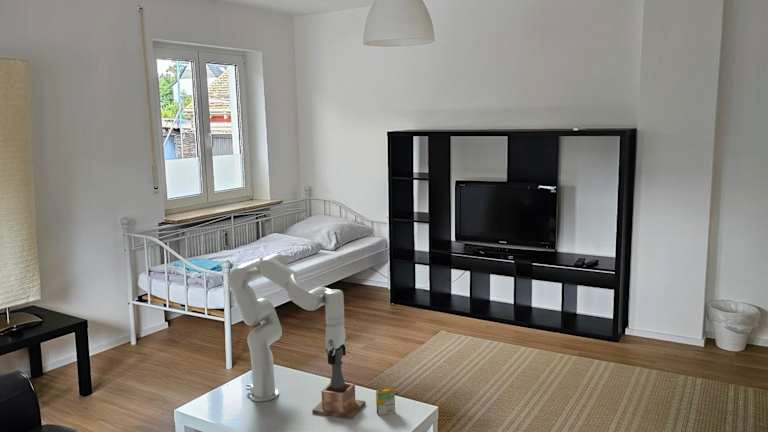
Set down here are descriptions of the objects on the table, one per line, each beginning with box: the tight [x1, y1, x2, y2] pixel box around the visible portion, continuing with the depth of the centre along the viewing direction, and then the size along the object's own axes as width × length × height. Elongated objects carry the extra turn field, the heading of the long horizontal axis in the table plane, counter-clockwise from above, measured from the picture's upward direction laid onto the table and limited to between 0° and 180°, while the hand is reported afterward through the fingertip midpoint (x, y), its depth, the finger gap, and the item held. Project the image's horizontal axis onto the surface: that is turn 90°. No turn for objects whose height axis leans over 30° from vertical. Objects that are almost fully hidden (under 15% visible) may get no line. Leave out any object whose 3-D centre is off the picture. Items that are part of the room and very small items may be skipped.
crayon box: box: [375, 386, 396, 416], centre depth 259 cm, size 7×3×12 cm, turn 106°
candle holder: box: [329, 346, 346, 393], centre depth 263 cm, size 6×6×25 cm
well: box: [311, 382, 366, 420], centre depth 264 cm, size 18×14×10 cm
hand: (337, 359), depth 261 cm, fingers open, 9 cm apart
